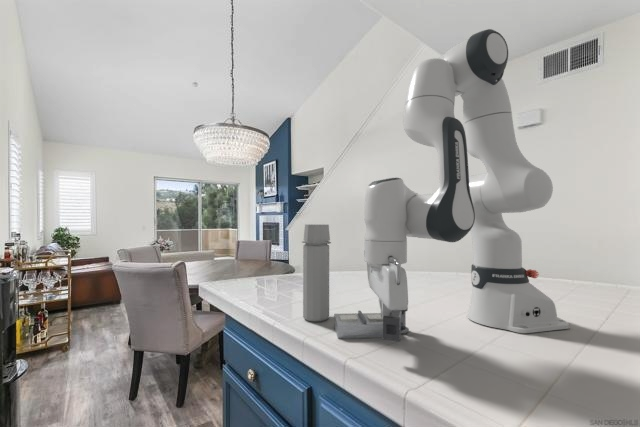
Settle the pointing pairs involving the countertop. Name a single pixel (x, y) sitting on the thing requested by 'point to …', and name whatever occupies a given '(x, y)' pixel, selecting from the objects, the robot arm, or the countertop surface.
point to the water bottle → (316, 272)
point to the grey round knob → (403, 324)
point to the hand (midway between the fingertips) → (385, 319)
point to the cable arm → (392, 325)
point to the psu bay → (358, 325)
